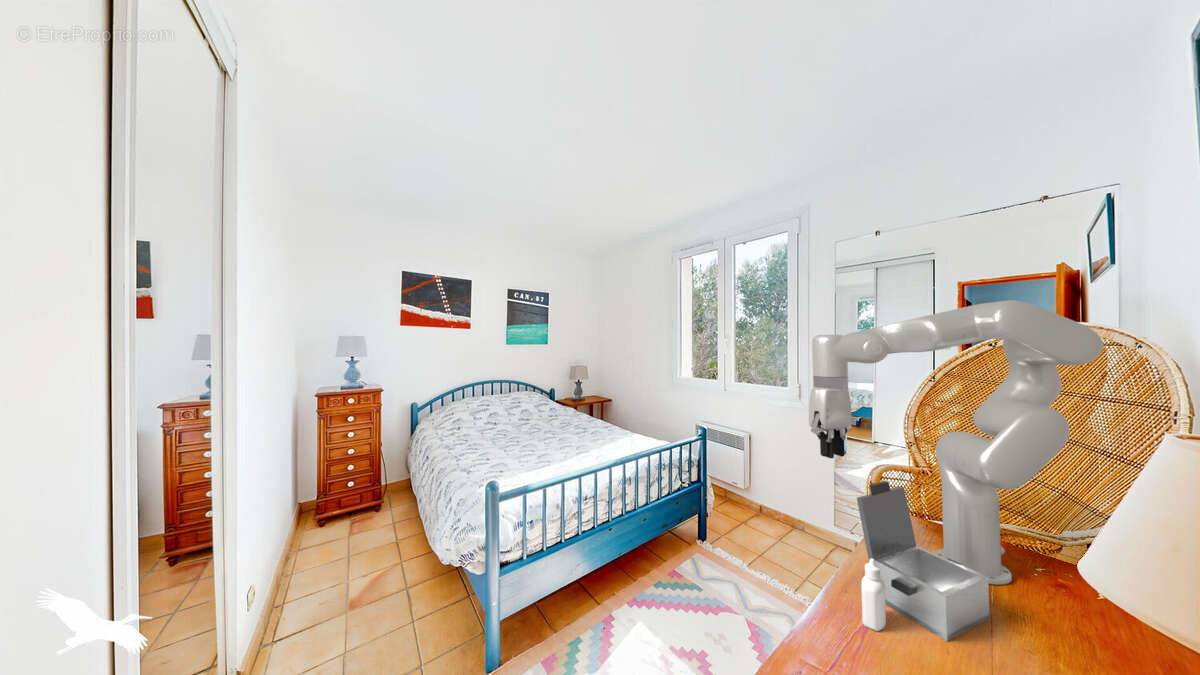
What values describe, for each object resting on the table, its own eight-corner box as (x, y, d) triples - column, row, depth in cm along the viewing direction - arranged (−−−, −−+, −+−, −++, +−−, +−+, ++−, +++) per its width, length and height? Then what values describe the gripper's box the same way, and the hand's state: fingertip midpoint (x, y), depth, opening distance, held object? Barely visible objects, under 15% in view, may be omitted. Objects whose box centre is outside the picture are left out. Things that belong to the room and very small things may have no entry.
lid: (916, 546, 82) (911, 545, 83) (901, 478, 85) (897, 477, 86) (873, 562, 77) (868, 560, 78) (859, 488, 80) (854, 488, 81)
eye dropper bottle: (897, 628, 69) (895, 564, 69) (872, 633, 68) (870, 568, 68) (875, 611, 74) (873, 551, 74) (851, 616, 72) (850, 554, 73)
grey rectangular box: (923, 578, 83) (922, 543, 83) (996, 615, 72) (994, 574, 72) (868, 601, 76) (867, 562, 76) (938, 645, 65) (937, 600, 65)
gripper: (838, 380, 100) (840, 448, 100) (793, 383, 94) (795, 456, 94) (867, 382, 93) (869, 455, 93) (820, 386, 87) (823, 465, 87)
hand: (832, 455), depth 93 cm, fingers open, 3 cm apart
